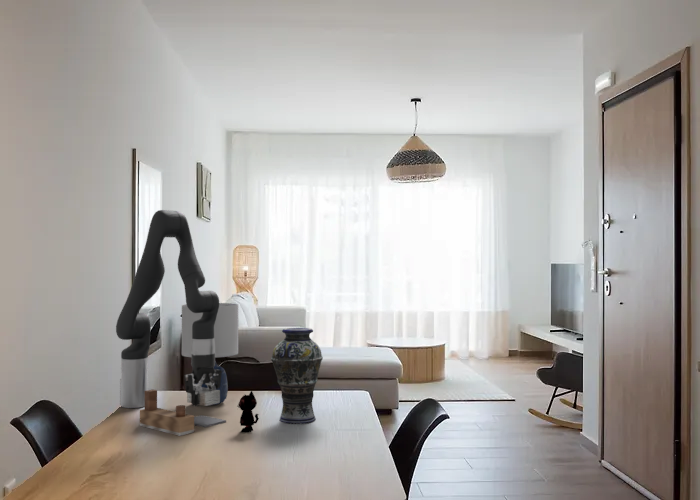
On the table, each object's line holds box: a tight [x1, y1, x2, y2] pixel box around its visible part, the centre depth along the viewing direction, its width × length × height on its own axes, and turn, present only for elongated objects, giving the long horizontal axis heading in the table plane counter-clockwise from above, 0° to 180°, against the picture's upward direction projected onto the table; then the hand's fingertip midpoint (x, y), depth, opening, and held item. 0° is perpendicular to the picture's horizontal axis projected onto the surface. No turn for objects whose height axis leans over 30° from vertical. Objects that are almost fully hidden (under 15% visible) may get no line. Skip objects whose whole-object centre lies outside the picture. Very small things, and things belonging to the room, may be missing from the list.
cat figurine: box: [236, 389, 260, 434], centre depth 215 cm, size 7×7×12 cm
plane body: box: [139, 389, 195, 437], centre depth 218 cm, size 20×6×11 cm, turn 52°
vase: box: [270, 326, 323, 425], centre depth 230 cm, size 17×17×30 cm
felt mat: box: [194, 415, 227, 428], centre depth 227 cm, size 12×9×1 cm
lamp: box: [181, 302, 239, 406], centre depth 255 cm, size 20×20×37 cm
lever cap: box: [186, 387, 220, 407], centre depth 227 cm, size 9×6×5 cm, turn 52°
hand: (203, 403), depth 227 cm, fingers closed on lever cap, 6 cm apart
